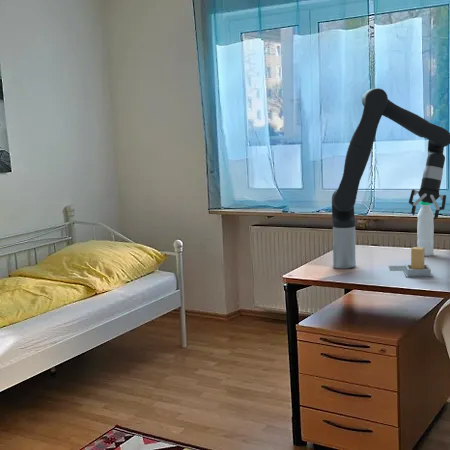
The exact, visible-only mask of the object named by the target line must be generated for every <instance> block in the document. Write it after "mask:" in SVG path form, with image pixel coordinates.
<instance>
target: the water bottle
mask: <svg viewBox="0 0 450 450" xmlns="http://www.w3.org/2000/svg"><path fill="white" fill-rule="evenodd" d="M419 204H420V209H419V211H418V213H417V225H416V226H417V227H416V229H417V232H416V233H417V234H416V235H417V241H416V243H417V244H416V245H417V247H424V248H425V257H431V256H433V255H435V253H434V245H435V244H434V243H435V242H434V232H435V231H434V230H435V229H434V227H435V226H434V224H435V223H434V216H435V213H433V211H432V210H433V209H431V205H432V203H427V202H422V201H421V202H419Z"/></svg>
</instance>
